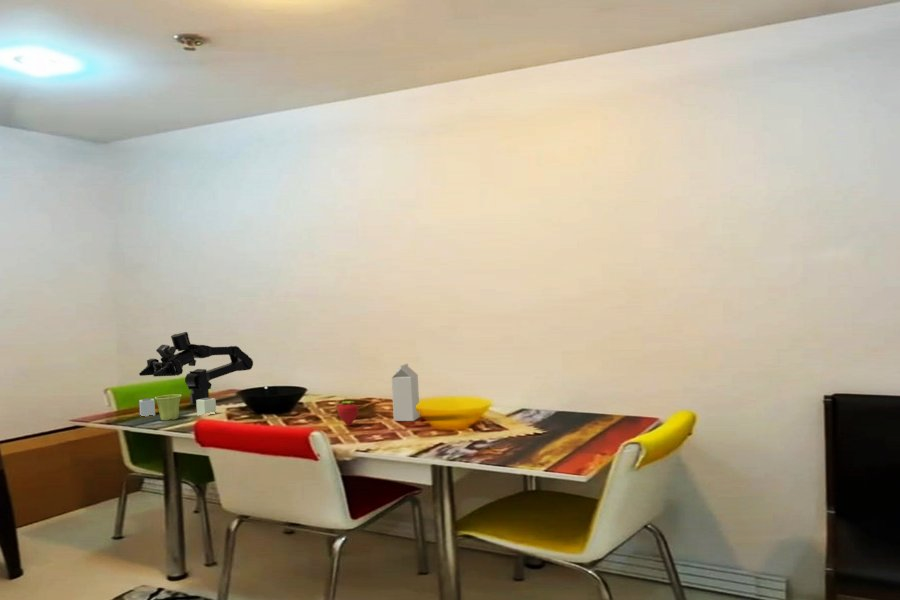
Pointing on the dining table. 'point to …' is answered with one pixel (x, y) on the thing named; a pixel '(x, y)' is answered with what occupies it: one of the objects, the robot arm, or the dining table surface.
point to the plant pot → (168, 406)
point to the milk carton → (405, 394)
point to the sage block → (205, 406)
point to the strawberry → (348, 412)
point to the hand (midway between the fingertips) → (146, 374)
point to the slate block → (147, 407)
